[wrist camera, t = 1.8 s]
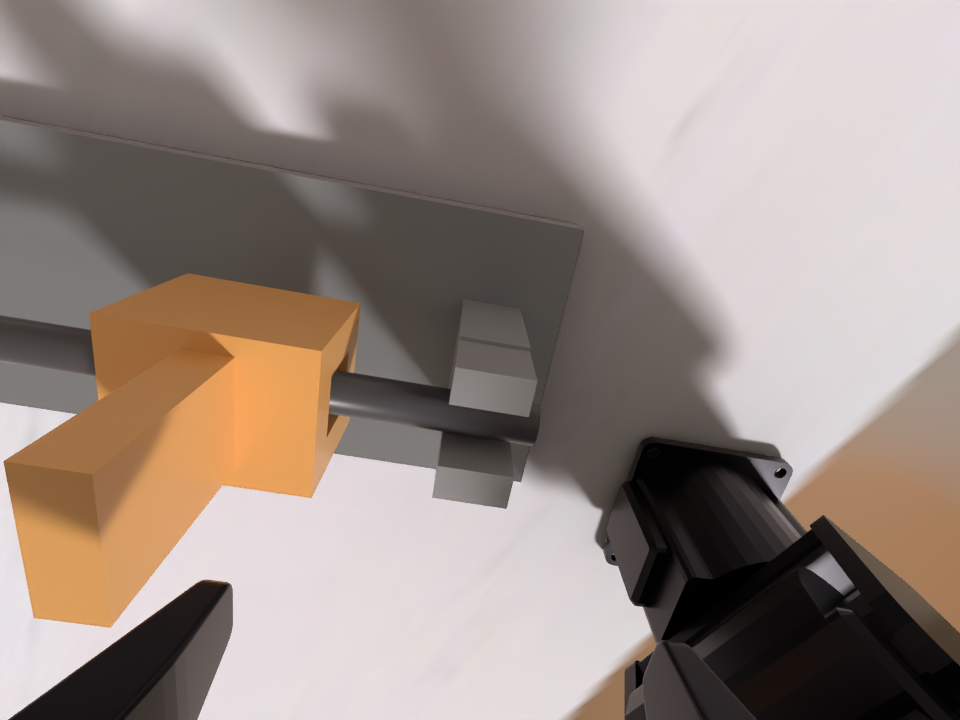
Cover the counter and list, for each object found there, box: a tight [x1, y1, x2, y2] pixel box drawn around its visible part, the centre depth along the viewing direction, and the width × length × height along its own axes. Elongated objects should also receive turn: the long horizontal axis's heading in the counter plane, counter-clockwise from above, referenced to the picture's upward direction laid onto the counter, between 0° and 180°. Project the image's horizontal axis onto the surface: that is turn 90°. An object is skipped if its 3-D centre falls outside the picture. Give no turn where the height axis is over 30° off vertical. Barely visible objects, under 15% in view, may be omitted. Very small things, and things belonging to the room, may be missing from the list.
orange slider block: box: [4, 273, 361, 628], centre depth 12 cm, size 5×4×8 cm
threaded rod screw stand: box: [0, 116, 584, 508], centre depth 15 cm, size 29×10×8 cm, turn 80°
